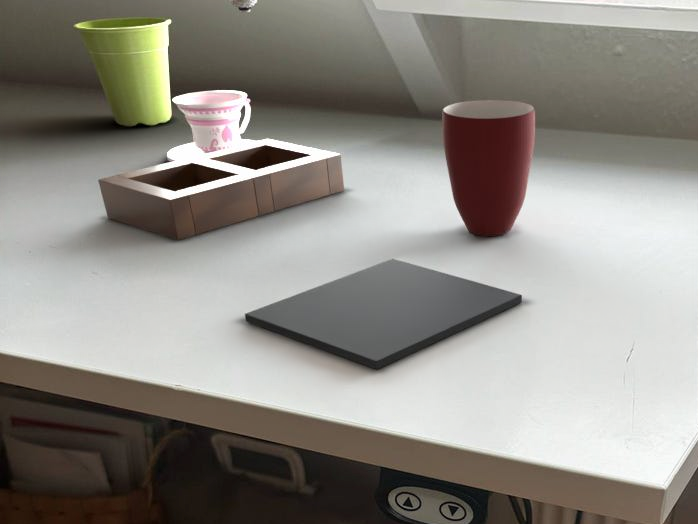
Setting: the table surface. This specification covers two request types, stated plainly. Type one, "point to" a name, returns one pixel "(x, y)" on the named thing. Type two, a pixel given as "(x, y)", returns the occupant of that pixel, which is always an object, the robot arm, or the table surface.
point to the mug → (488, 161)
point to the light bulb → (243, 4)
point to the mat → (383, 311)
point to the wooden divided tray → (221, 187)
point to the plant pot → (131, 66)
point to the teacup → (212, 122)
